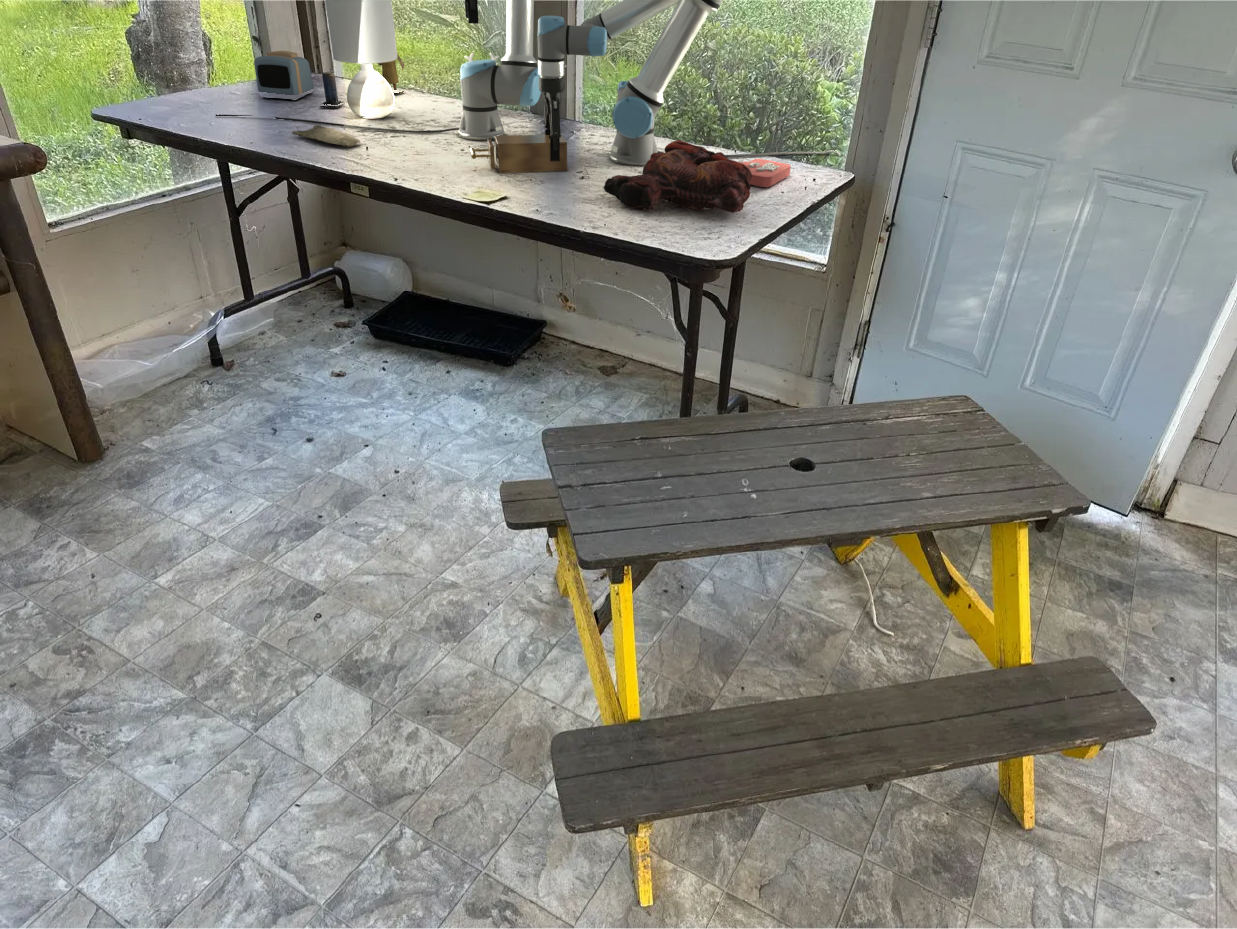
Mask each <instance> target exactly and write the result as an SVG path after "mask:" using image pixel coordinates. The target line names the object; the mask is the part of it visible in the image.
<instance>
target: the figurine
mask: <svg viewBox="0 0 1237 929" xmlns="http://www.w3.org/2000/svg"><path fill="white" fill-rule="evenodd" d="M396 60H397V61H398V63H399V64H400V67H401V69H402V70H401V71H404V68H405V63H404V62H403V59H402V58H401V56H400V55H399V53H398V52H397V59H396ZM396 60H394V61H390V62H383V63H377V65H378V66H380V67H381V72H382V74H381V76H382V77H383V78H384V79H385V80H386V81H387V82H388V84H389V85H390V86H391V85H392V87H393V90H398V89H397V88H398V87H397V84H399V81H400V80H399V75H398V71H397V62H396ZM401 91H402V92H399V93H393V94H394V96H399V95H401V94H400V93H403V92H404V91H405V90H401ZM398 94H399V95H398ZM403 94H404V93H403Z"/></svg>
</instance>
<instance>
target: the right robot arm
mask: <svg viewBox="0 0 1237 929" xmlns="http://www.w3.org/2000/svg"><path fill="white" fill-rule="evenodd" d="M723 1H724V0H621V1H619V2H618V3H616V4H614V5H612V6H610V7H608V8H606V9H605V10H603V11H602V12H600V13H599V14H596V15H594V16H593V17H591V18H587V19H586V20H584V21H582V23H581V24H580V25H571V24H570V25H569V24H566V23H565V18H564V17H563V16H559V15H543V16H540V17H539V18H538V20H537V34H536V35H537V68H538V74H539V75H540V77H539V90H540V91H541V93H543V97H544V98H543V101H544V103H543V104H544V106H543V107H544V110H543V125H544V135H551V136H549V139H550V161H560V138H561V134H562V133H561V132H562V131H561V113H560V108H561V107H560V104H561V102H560V99H559V97H558V94H560V93H563V92H564V91H565V88H566V87H565V84H566V83H565V77H564V76H565V68H567V64H566V63H565V55H566V56H570V55H571V56H583V57H584V56H585V57H586V56H587V57H593V58H594V57H604V56H605V55H606V53H607V48H608V42H610V41H611V40H612V39H614V38H617V37H618V36H620V35H622V34H624V33H625V32H627V31H629V30H631V29H633V28H635V27H637V26H638V25H640V24H642V23H644V22H645V21H648V20H650V19H651V18H653V17H656V16H657V15H659V14H660V13H662V12H664V11H666V10H668V9H670V8H672V7H674V6H676V7H675V8H674V10H673V12H672V13H671V14H670V17H669V19H668V21H667V23H666V24H665V25H664V28H663V30H662V31H661V33H660V35H659V37H658V39H657V40H656V42H655V44H654V45H653V47H652V49H651V51H650V53H649V54H648V56H647V58H646V60H645V61H644V64H643V66H642V68H641V69H640V70H639V73H638V75H637V76H635V77H631V78H629V80H620V81H619V82H618V83H617V89H616V91H617V97H616V98H617V100H616V103H615V105H614V106H613V108H612V112H611V113H612V114H611V115H612V116H611V117H612V118H611V119H612V122H613V126H614V128H615V129H616V133H615V137H614V140H613V143H612V144H611V148H610V153H609V159H610V160H611V161H612V162H613V163H616V164H619V165H626V166H645V165H646V163H647V162H648V160H650V159H651V158H650V157H651V155H652V154H653V153H657V152H658V153H660V152H661V151H660V150H658V147H657V143H656V139H655V119H656V116H657V114H658V113H659V111H660V109H661V107H662V106H663V104H664V102H665V99H664V93H665V90H666V89H667V86H668V85H669V83H670V82H671V80H672V78H673V76H674V74H675V73H676V71H677V69H678V68H679V66H680V65H681V62H682V61H683V59H684V57H685V55H686V54H687V52H688V50H689V49H690V47H691V45H692V43H693V42H694V41H695V38H696V36H697V35H698V33H699V31H701V30H700V29H701V28H702V26H703V25H704V23H705V21H706V20H707V18H708V16H709V15H710V14H711V13H714V12H717V11H718V10H719V8H720V6H721V5H722V3H723ZM834 150H835V149H830V150H829V149H828V150H823V151H822V150H821V151H813V150H812V151H779V152H777V151H776V152H759V153H740V154H724V155H725V156H726V158H727V159H729V158H731V159H732V158H750V157H751V158H752V157H769V156H770V157H771V156H792V155H794V156H795V155H796V156H797V155H799V156H801V155H827V154H835V155H836V156H837V157H840V156H841V153H840V152H839V151H837V152H835V151H836V150H835V151H834Z"/></svg>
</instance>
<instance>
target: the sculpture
mask: <svg viewBox="0 0 1237 929" xmlns="http://www.w3.org/2000/svg"><path fill="white" fill-rule="evenodd" d="M725 155H726V154H724V153H723V152H720V151H719V152H717V151H716V152H714V151H711V150H708V149H706V148H705V147H704V146H702V145H695V144H692V143H689V142H686V141H684V140H680V139H677V140H673V141H671V142H669V143H668V144H667V145H666V146H665V147H664V151H660V153H658V152H657V153H653V154H652V155H651V157H650V158H651V159H650V160H648V162H647V163H646V165H644V166H643V168H642V174H638V175H621V174H617V175H613V176H612V177H608V178H607V179H606V180H605V181H604V184H603V185H604V186H603V190H604V192H605V193H606V194H608V195H609V196H610V195H611V196H613V197H615V198H616V199H617V200H618V201H619V202H620V203H621V204H622V205H623V206H625V207H626V208H628V209H636V208H637V209H638V208H641V209H643V210H647V211H649V210H654V208H655V207H657V205H658V203H659V202H660V201H665V202H668V203H669V204H671V203H672V204H674V205H675V206H678V207H681V208H689V209H692V210H696V211H704V209H707V210H715V209H717V210H721V211H725V212H728V213H732V214H734V213H740V212H741V211H743V210H744V207H745V205H744V204H745V203H746V202H747V201H748V200H749V198H750V196H751V190H750V189H751V184H750V180H751V178H752V173H751V171H750V169H749V168H747V167H746V166H745V165H744V164H742V163H740V162H741V161H737V160H733V159H729V158H726V156H725Z"/></svg>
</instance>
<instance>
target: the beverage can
mask: <svg viewBox="0 0 1237 929" xmlns="http://www.w3.org/2000/svg"><path fill="white" fill-rule="evenodd" d="M321 77H322V85H323V91H324V97H325V101H323V102H322V103H321V104H324V105H325V104H326V105H327V104H331V105H338V104H340V103H342V102H344V104H342V105H339V106H337V107H333V106H319V108H321V109H322V108H326V107H327V108H328V109H333V108H334V109H335V110H337V109H338V108H341V107H342V106H344V105H345V101H342V100H339V97H338V95H339V94H338V88H337V82H336V74H334V72H333V71H323V72H322V74H321Z"/></svg>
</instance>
